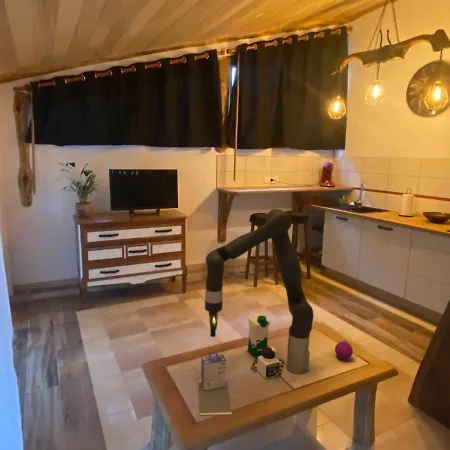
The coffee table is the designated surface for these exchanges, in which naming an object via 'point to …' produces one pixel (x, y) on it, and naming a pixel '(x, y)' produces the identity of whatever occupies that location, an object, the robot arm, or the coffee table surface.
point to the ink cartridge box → (213, 371)
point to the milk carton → (257, 335)
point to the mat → (214, 401)
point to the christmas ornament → (343, 350)
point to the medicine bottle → (268, 363)
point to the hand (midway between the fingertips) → (212, 335)
